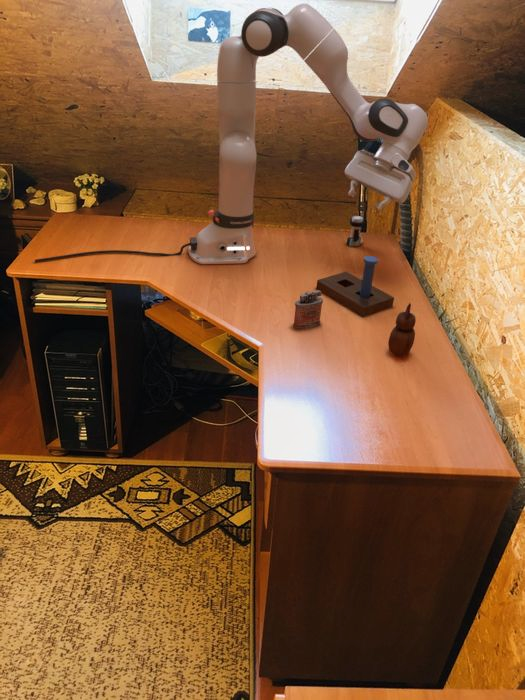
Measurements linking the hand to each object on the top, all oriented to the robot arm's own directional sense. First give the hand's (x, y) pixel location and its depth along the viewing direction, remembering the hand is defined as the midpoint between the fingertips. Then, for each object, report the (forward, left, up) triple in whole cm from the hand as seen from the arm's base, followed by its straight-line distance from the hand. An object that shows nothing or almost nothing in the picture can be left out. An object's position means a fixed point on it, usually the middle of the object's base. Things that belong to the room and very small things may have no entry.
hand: (363, 202), depth 168 cm
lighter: (-26, -23, -25) cm, 43 cm away
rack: (-6, -12, -24) cm, 28 cm away
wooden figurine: (-9, -42, -25) cm, 49 cm away
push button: (+15, +24, -25) cm, 38 cm away
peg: (-5, -16, -24) cm, 29 cm away
